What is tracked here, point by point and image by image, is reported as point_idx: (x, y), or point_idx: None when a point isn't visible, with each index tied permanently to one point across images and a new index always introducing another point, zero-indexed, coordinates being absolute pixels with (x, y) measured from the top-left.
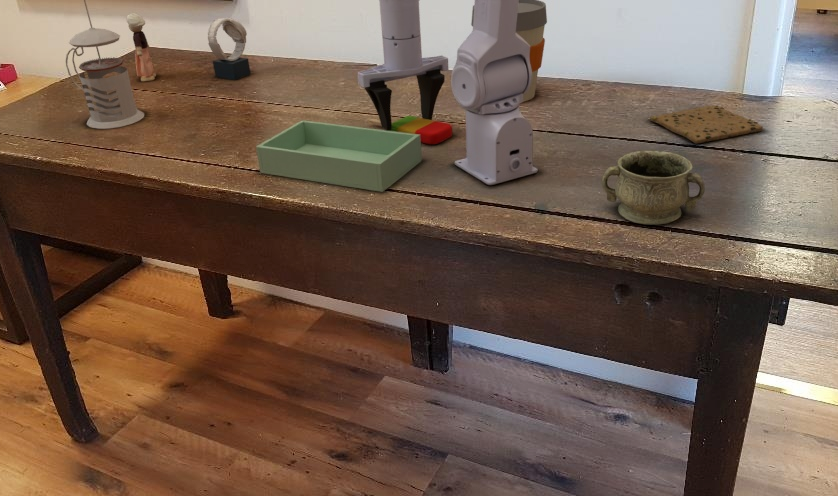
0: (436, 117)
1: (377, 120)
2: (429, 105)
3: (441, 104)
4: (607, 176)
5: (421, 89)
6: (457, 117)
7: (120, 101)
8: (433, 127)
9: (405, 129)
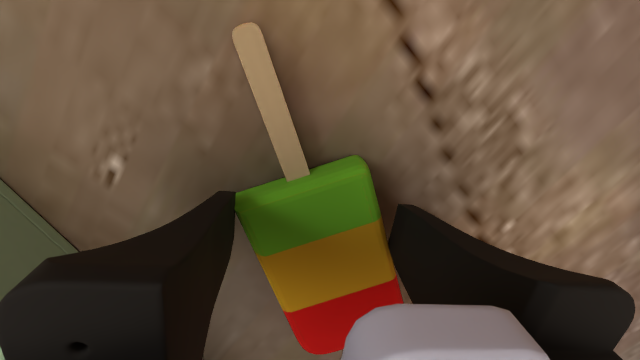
0: (486, 141)
1: (262, 70)
2: (411, 294)
3: (624, 20)
4: None
5: (460, 276)
6: (523, 189)
7: None
8: (344, 322)
9: (268, 279)
